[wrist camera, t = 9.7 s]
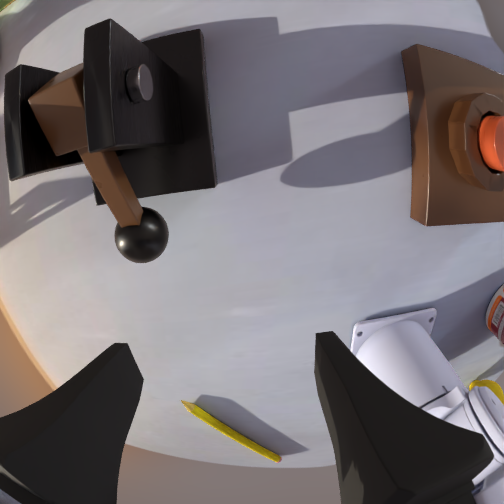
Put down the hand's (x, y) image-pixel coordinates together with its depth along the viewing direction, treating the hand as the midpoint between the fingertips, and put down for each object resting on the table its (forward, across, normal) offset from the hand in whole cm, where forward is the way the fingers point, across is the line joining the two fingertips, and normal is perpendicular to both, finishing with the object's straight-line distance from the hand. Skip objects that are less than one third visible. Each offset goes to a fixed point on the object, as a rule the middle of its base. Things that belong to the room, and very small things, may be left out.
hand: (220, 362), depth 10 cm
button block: (+10, -18, -8) cm, 22 cm away
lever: (+5, +4, -8) cm, 10 cm away
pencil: (+9, +2, +20) cm, 22 cm away
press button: (+6, -18, -8) cm, 20 cm away
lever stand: (+10, +4, -10) cm, 15 cm away
